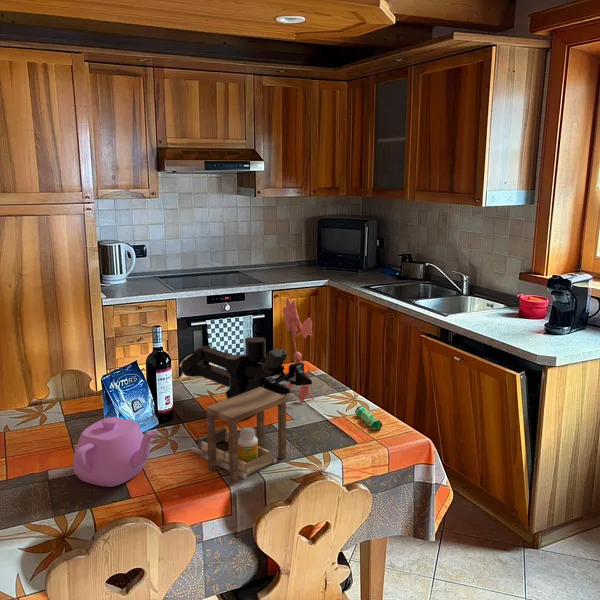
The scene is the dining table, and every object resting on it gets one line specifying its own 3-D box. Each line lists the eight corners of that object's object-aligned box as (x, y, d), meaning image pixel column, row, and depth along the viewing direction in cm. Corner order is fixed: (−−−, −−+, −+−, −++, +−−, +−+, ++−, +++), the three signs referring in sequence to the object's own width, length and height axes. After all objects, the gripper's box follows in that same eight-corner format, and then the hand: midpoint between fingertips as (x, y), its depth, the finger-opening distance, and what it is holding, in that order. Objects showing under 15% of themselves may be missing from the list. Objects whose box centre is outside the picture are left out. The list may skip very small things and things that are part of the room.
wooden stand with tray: (181, 455, 166) (179, 394, 162) (234, 433, 180) (232, 376, 176) (233, 484, 152) (232, 418, 148) (285, 457, 166) (285, 396, 162)
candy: (384, 427, 183) (378, 417, 182) (375, 434, 183) (369, 425, 181) (367, 411, 194) (361, 402, 193) (359, 418, 194) (352, 409, 192)
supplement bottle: (242, 470, 159) (241, 436, 157) (234, 461, 163) (234, 428, 161) (261, 466, 161) (260, 432, 159) (253, 457, 166) (252, 424, 164)
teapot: (52, 490, 149) (47, 434, 145) (108, 452, 168) (104, 402, 165) (129, 510, 141) (125, 451, 137) (178, 468, 160) (176, 415, 156)
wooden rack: (199, 450, 169) (198, 438, 168) (224, 439, 176) (223, 427, 175) (246, 475, 156) (246, 462, 155) (272, 462, 163) (272, 449, 162)
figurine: (296, 381, 222) (295, 288, 213) (325, 408, 198) (324, 305, 190) (257, 387, 216) (253, 292, 208) (281, 416, 193) (279, 310, 184)
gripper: (239, 355, 174) (277, 368, 164) (284, 341, 187) (322, 352, 177) (240, 391, 176) (278, 406, 166) (284, 375, 190) (322, 388, 180)
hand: (300, 386), depth 172 cm, fingers open, 9 cm apart
